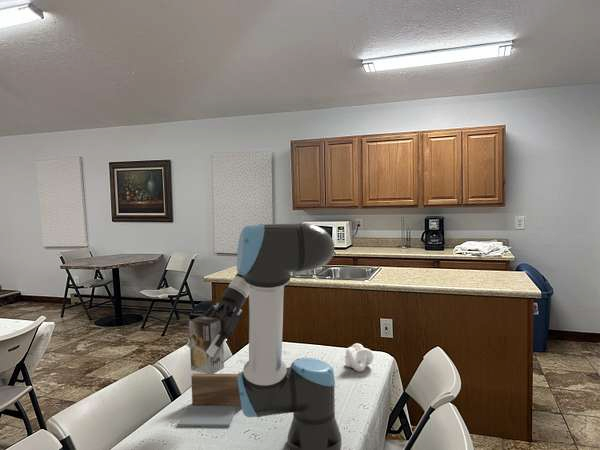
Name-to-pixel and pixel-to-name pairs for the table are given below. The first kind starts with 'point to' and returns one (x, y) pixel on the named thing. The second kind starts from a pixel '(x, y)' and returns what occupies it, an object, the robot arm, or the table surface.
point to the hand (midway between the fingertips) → (198, 351)
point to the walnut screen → (215, 389)
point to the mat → (207, 416)
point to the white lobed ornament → (358, 357)
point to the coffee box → (205, 344)
